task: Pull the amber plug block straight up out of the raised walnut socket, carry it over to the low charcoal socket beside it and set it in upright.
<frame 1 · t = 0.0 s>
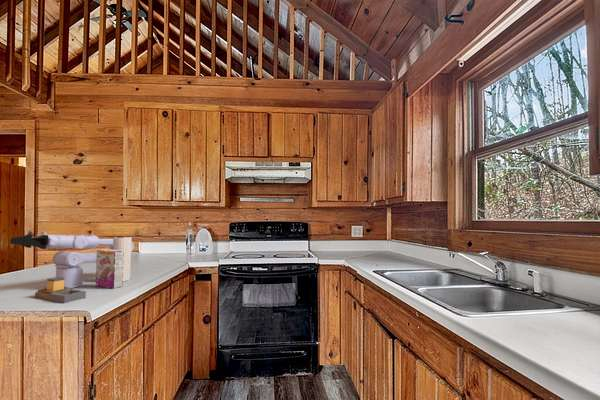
hand: (17, 241, 125), 22 cm above the counter, tool horizontal, fingers open, 7 cm apart
lower socket: (68, 299, 124), on the counter
paper towel roll: (120, 281, 157), on the counter
candy bar box: (108, 287, 145), on the counter
plug: (55, 290, 128), point 2 cm above the counter, touching upper socket
upper socket: (55, 296, 128), on the counter
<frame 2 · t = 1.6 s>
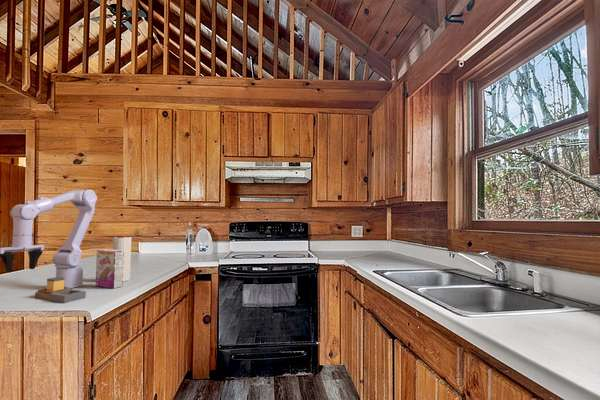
hand: (20, 270, 125), 10 cm above the counter, tool pointing down, fingers open, 7 cm apart
nothing on the counter moved.
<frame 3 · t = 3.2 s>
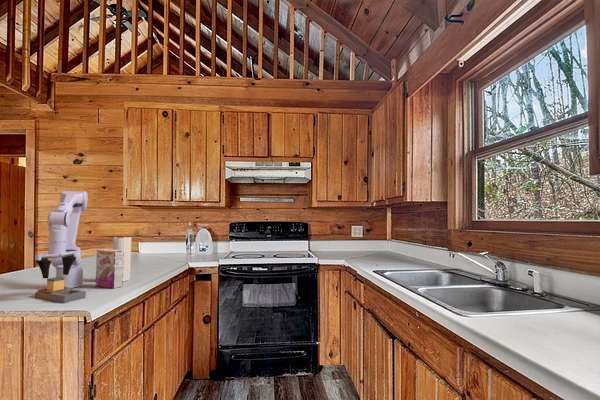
hand: (55, 276, 129), 8 cm above the counter, tool pointing down, fingers open, 7 cm apart
nothing on the counter moved.
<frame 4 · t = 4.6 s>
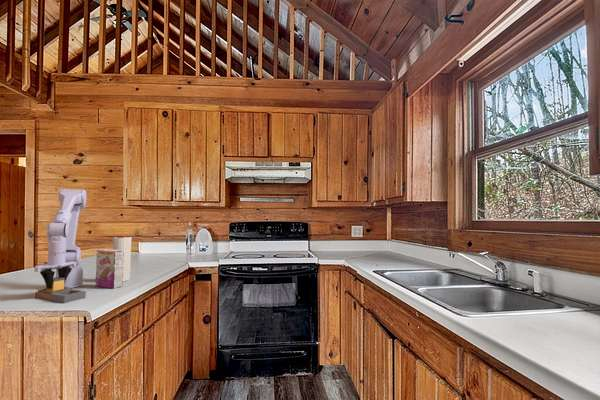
hand: (55, 287, 128), 3 cm above the counter, tool pointing down, fingers closed on plug, 4 cm apart
plug: (55, 290, 128), point 2 cm above the counter, touching gripper, upper socket
everything else where it was.
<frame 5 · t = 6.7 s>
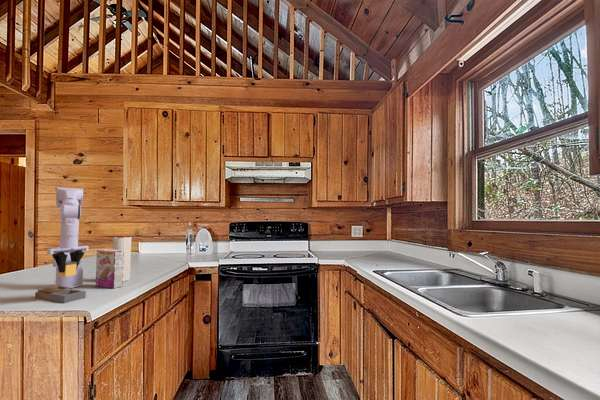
hand: (67, 271, 125), 11 cm above the counter, tool pointing down, fingers closed on plug, 4 cm apart
plug: (67, 275, 125), point 9 cm above the counter, touching gripper
everything else where it was.
when the fingers open (4 cm above the counter, at t = 8.9 s): plug drops 1 cm, resting on lower socket.
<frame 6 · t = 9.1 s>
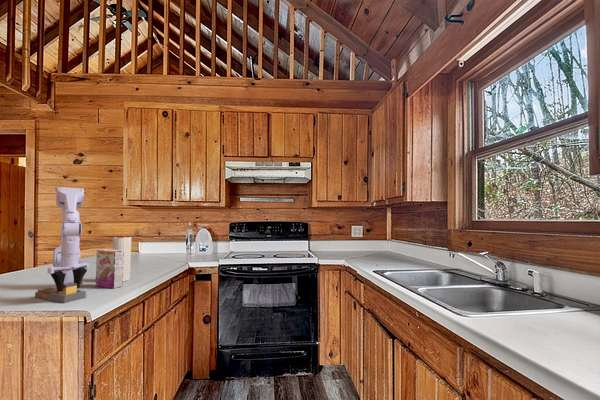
hand: (68, 289, 124), 4 cm above the counter, tool pointing down, fingers open, 6 cm apart
plug: (67, 297, 124), point 1 cm above the counter, touching lower socket
everything else where it was.
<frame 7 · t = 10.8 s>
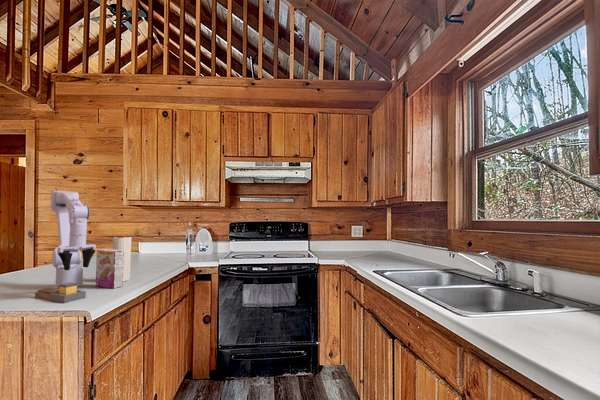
hand: (76, 268, 132), 10 cm above the counter, tool pointing down, fingers open, 7 cm apart
nothing on the counter moved.
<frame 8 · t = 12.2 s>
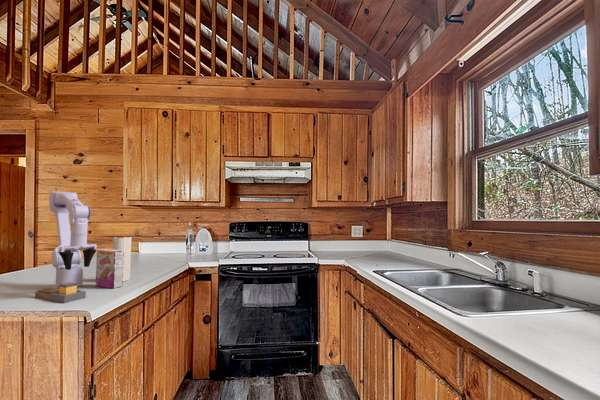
hand: (77, 268, 133), 10 cm above the counter, tool pointing down, fingers open, 7 cm apart
nothing on the counter moved.
at the end: plug 0.2 cm off-centre on the lower socket, point 0.8 cm above the lower socket's base; plug tilted 0°; the gripper is holding nothing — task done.
